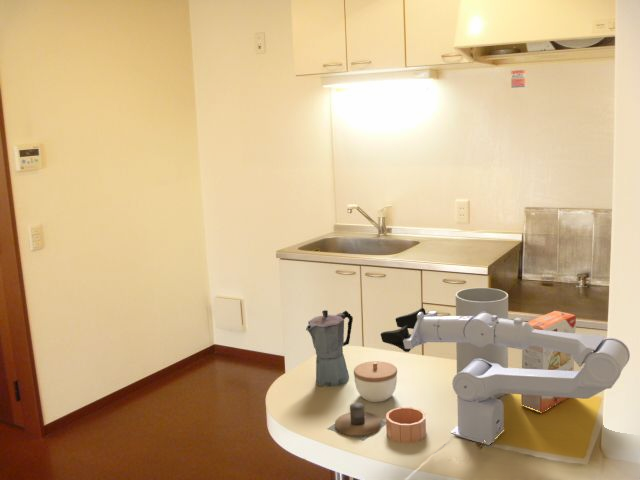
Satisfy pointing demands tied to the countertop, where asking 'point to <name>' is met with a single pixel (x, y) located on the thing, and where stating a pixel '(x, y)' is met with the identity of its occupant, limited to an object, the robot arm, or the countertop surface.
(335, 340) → the moka pot
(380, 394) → the lidded jar
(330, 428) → the mat
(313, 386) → the countertop surface
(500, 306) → the cylinder vase
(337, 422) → the lid
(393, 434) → the planter
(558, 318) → the cracker box
